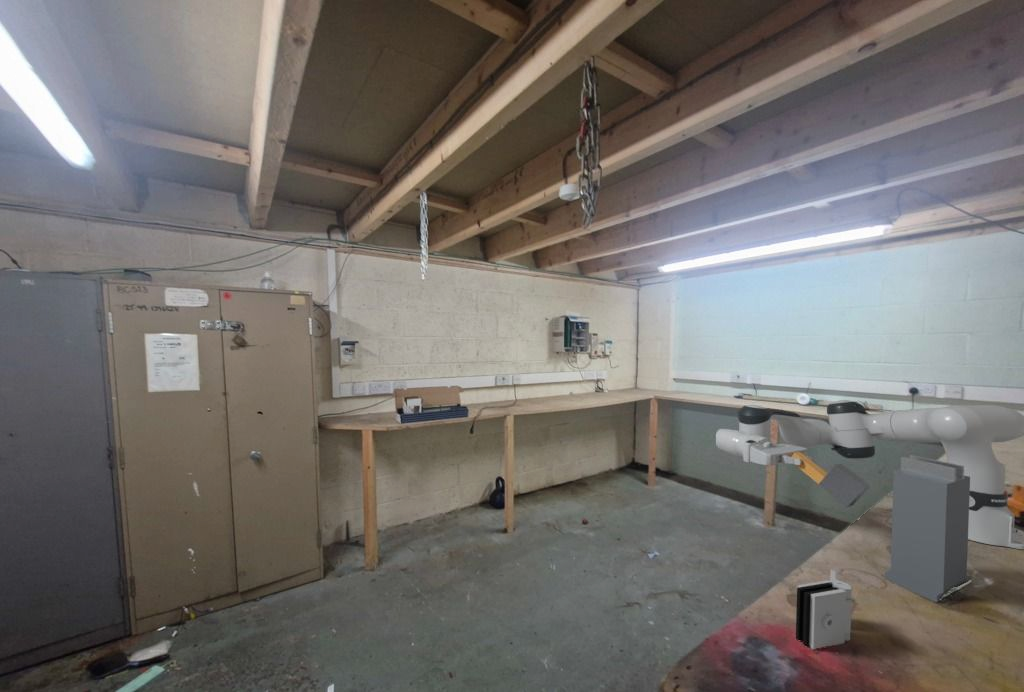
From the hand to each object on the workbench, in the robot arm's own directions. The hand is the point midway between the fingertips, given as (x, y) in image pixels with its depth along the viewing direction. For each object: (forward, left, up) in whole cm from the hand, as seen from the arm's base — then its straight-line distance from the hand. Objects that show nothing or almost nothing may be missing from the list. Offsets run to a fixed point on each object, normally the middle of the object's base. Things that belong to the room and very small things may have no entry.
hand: (806, 461), depth 116 cm
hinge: (+42, +27, -21) cm, 54 cm away
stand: (0, +27, -21) cm, 34 cm away
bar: (0, +3, -5) cm, 6 cm away
